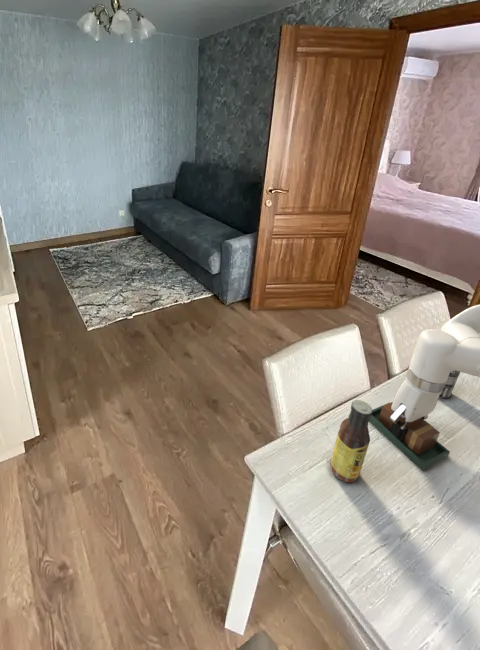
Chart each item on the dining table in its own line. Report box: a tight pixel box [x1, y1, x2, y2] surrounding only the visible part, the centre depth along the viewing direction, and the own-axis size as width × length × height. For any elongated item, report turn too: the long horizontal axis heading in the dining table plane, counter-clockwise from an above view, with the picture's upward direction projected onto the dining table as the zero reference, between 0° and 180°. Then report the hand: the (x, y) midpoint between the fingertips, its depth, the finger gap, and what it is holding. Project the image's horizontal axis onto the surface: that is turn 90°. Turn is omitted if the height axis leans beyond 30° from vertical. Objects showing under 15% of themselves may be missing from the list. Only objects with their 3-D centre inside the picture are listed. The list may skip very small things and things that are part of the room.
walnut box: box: [378, 401, 440, 455], centre depth 89 cm, size 11×6×5 cm, turn 22°
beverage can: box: [439, 370, 461, 399], centre depth 102 cm, size 7×7×12 cm
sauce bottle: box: [330, 399, 373, 483], centre depth 78 cm, size 6×6×20 cm
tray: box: [368, 402, 451, 472], centre depth 90 cm, size 16×9×2 cm, turn 22°
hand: (405, 431), depth 89 cm, fingers closed on walnut box, 6 cm apart
